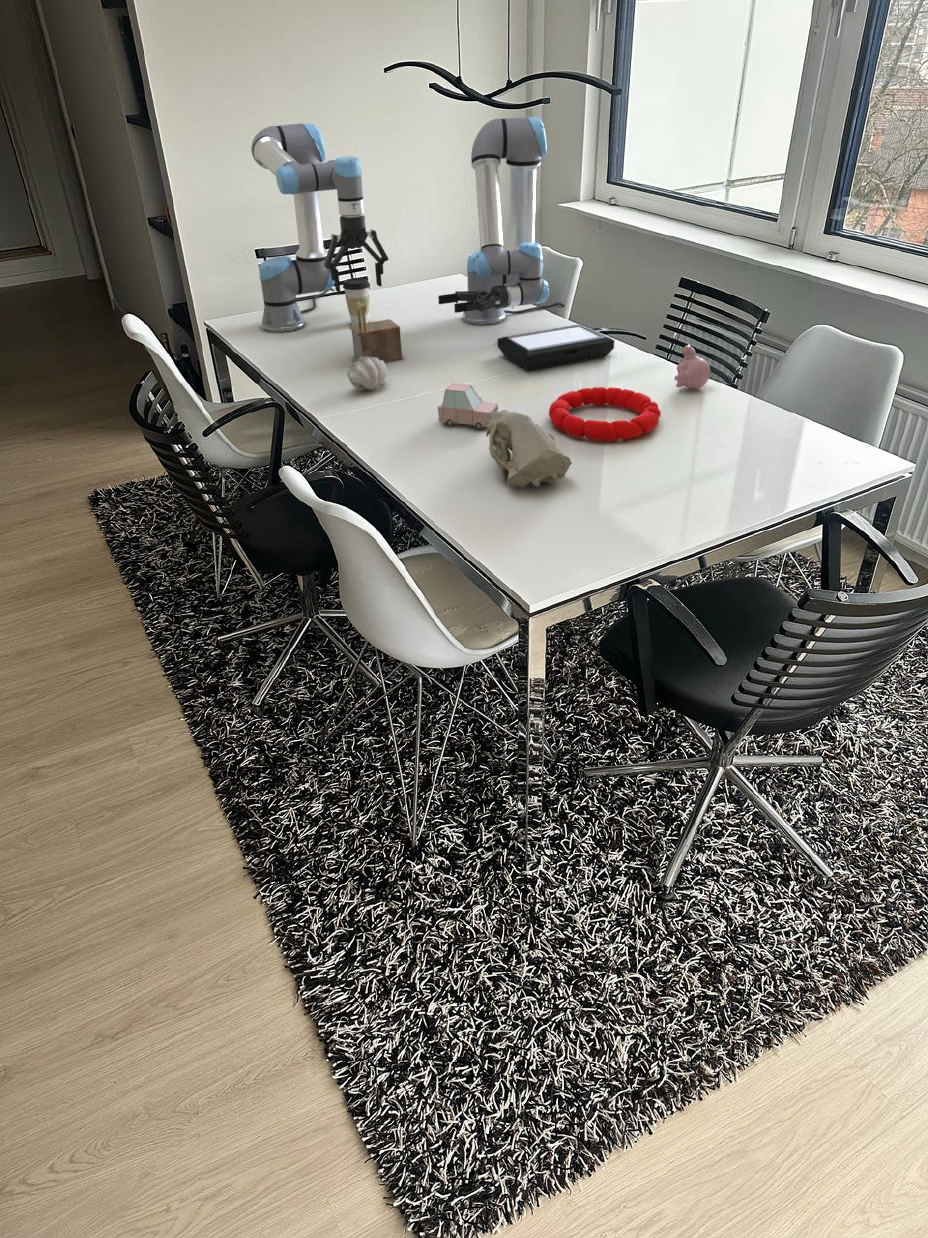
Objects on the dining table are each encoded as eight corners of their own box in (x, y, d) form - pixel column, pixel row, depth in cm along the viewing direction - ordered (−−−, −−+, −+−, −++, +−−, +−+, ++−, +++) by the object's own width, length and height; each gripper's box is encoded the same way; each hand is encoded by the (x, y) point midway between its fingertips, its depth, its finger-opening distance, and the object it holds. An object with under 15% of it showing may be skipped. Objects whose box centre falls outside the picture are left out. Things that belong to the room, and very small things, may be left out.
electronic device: (525, 353, 274) (497, 336, 289) (525, 373, 277) (497, 355, 292) (614, 337, 284) (582, 321, 299) (613, 356, 288) (581, 340, 303)
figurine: (665, 387, 264) (669, 347, 257) (693, 380, 268) (698, 340, 261) (686, 396, 257) (690, 355, 250) (714, 388, 262) (720, 348, 255)
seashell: (340, 388, 271) (336, 356, 265) (384, 379, 276) (382, 347, 271) (353, 398, 263) (350, 365, 258) (399, 389, 269) (396, 356, 263)
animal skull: (496, 517, 219) (521, 479, 201) (463, 429, 225) (484, 384, 207) (557, 503, 225) (586, 465, 206) (523, 417, 231) (549, 373, 212)
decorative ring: (589, 435, 224) (684, 402, 234) (527, 398, 247) (617, 369, 256) (589, 461, 229) (683, 427, 238) (529, 422, 251) (617, 393, 260)
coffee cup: (372, 326, 323) (368, 283, 314) (345, 327, 323) (340, 284, 315) (374, 318, 331) (371, 276, 322) (348, 319, 331) (344, 277, 323)
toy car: (488, 432, 240) (488, 396, 234) (436, 426, 244) (434, 390, 239) (499, 419, 247) (499, 384, 241) (448, 413, 252) (447, 379, 246)
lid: (358, 336, 282) (355, 308, 277) (349, 328, 290) (346, 301, 285) (400, 329, 287) (398, 302, 282) (389, 322, 294) (387, 295, 289)
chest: (363, 365, 288) (360, 336, 283) (354, 357, 295) (351, 328, 290) (402, 359, 292) (400, 330, 287) (392, 351, 300) (389, 322, 294)
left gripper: (315, 221, 261) (323, 296, 273) (395, 212, 268) (400, 285, 281) (308, 217, 266) (317, 290, 278) (386, 208, 274) (391, 280, 286)
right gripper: (521, 315, 292) (462, 323, 285) (489, 300, 311) (433, 307, 305) (521, 291, 288) (461, 299, 281) (488, 277, 307) (432, 285, 301)
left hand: (358, 288), depth 279 cm, fingers open, 13 cm apart
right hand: (446, 303), depth 293 cm, fingers open, 13 cm apart
